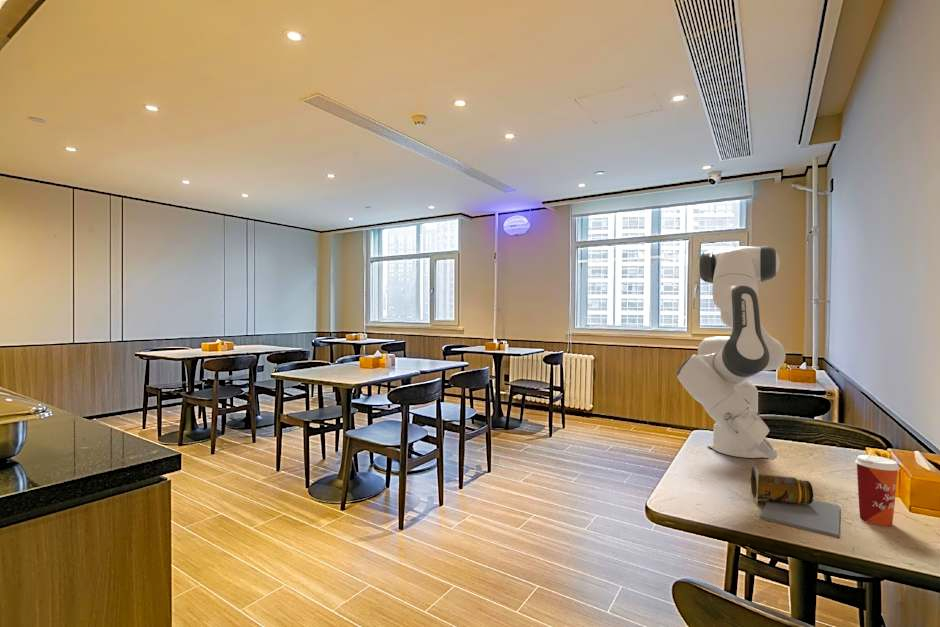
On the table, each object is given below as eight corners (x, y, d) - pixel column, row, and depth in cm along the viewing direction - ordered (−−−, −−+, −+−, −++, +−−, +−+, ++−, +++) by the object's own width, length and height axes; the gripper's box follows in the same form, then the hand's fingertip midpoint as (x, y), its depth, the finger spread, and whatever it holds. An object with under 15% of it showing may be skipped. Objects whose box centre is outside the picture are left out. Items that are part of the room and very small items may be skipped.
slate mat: (771, 493, 124) (771, 491, 124) (839, 508, 115) (839, 505, 115) (760, 518, 108) (760, 516, 108) (838, 537, 99) (838, 534, 99)
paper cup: (886, 531, 103) (887, 466, 103) (846, 517, 110) (847, 456, 110) (906, 525, 106) (907, 462, 106) (866, 512, 113) (867, 452, 113)
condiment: (756, 505, 116) (815, 512, 112) (757, 470, 116) (816, 476, 112) (749, 493, 123) (804, 500, 119) (750, 460, 122) (805, 466, 119)
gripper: (732, 409, 111) (781, 460, 105) (747, 398, 128) (790, 441, 121) (711, 425, 114) (758, 475, 108) (727, 412, 130) (769, 456, 124)
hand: (775, 457), depth 115 cm, fingers closed
